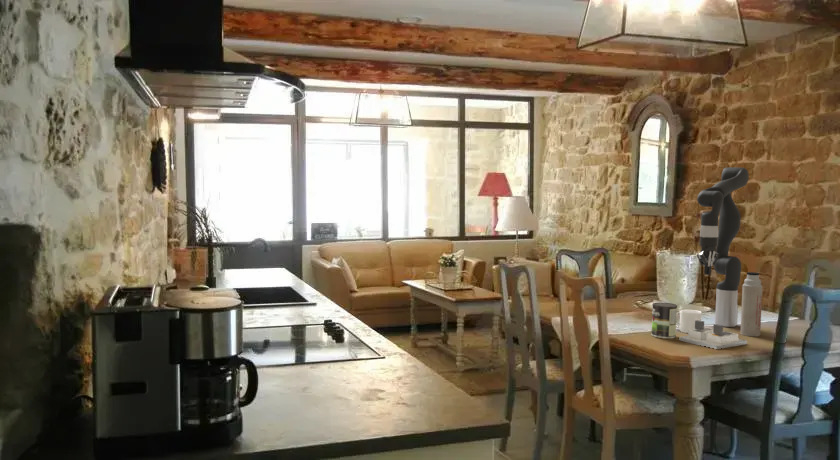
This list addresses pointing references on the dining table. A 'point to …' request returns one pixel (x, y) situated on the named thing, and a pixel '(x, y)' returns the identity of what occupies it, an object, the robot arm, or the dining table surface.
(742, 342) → the breaker panel
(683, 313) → the mug
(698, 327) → the on breaker handle
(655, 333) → the coffee can
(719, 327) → the breaker handle
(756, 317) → the thermos bottle
